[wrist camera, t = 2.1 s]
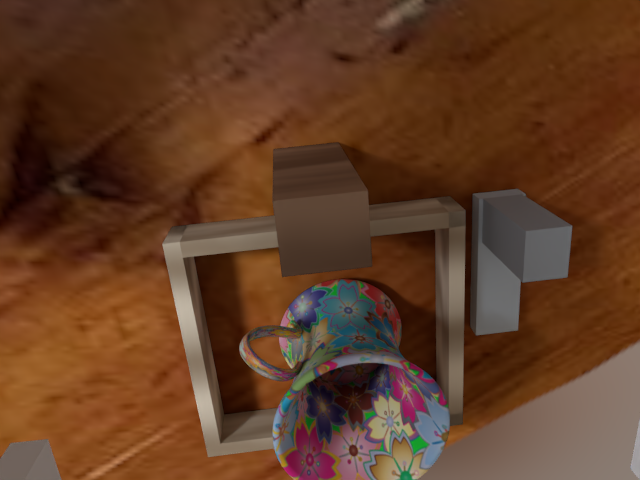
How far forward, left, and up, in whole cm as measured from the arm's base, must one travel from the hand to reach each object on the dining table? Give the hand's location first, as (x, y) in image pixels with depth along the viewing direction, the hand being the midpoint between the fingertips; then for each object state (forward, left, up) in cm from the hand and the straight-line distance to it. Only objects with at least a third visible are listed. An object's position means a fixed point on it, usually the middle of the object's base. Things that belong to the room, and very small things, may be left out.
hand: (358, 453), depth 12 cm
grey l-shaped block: (+7, +12, -23) cm, 27 cm away
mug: (+10, 0, -23) cm, 25 cm away
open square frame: (+8, 0, -23) cm, 24 cm away
